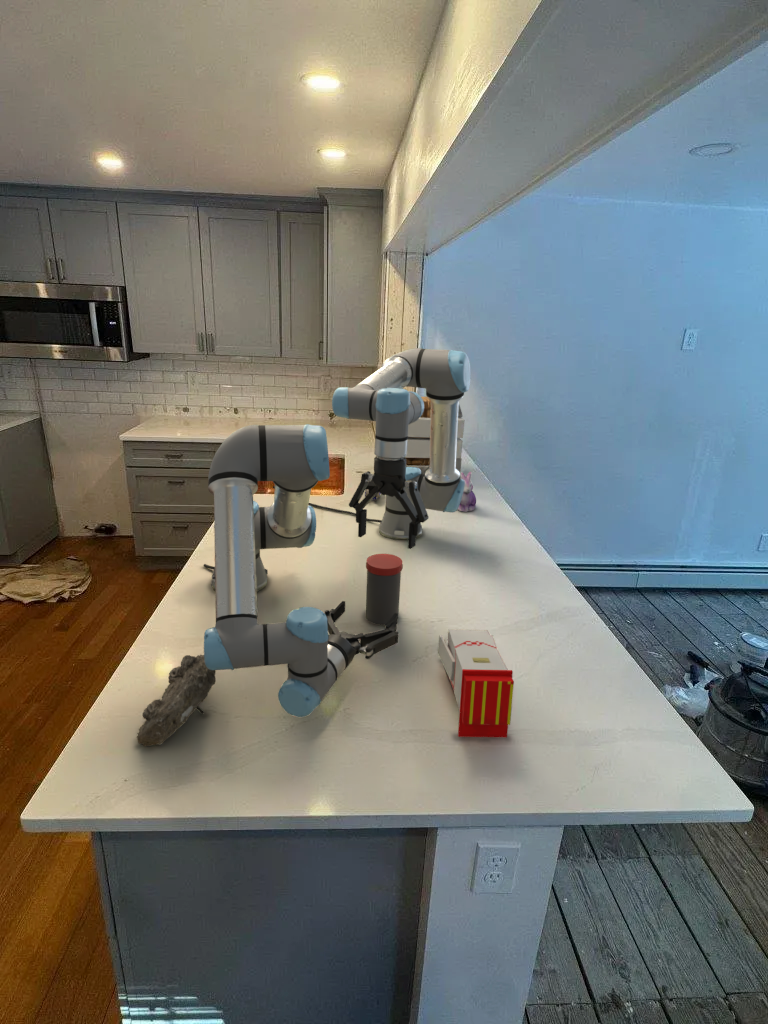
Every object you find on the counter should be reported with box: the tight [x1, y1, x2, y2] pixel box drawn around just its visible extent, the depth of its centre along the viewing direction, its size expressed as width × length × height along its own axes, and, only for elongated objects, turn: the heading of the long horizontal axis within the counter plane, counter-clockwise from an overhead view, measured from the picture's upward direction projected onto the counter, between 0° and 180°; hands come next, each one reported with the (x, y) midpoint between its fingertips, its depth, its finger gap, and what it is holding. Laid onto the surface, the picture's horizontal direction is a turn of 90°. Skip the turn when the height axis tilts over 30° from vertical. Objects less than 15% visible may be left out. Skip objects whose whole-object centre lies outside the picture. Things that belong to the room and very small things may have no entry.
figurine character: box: [364, 480, 381, 503], centre depth 235 cm, size 7×8×15 cm
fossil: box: [136, 654, 217, 747], centre depth 108 cm, size 22×10×15 cm
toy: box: [437, 628, 515, 738], centre depth 117 cm, size 12×13×30 cm
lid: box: [365, 553, 404, 576], centre depth 141 cm, size 9×9×2 cm
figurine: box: [457, 471, 477, 513], centre depth 226 cm, size 9×10×15 cm
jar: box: [365, 569, 402, 626], centre depth 143 cm, size 8×8×15 cm
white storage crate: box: [402, 388, 465, 475], centre depth 268 cm, size 34×33×41 cm
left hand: (369, 611), depth 136 cm, fingers open, 13 cm apart
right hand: (386, 541), depth 139 cm, fingers open, 13 cm apart
